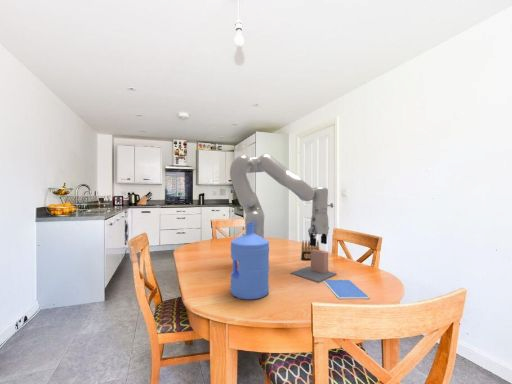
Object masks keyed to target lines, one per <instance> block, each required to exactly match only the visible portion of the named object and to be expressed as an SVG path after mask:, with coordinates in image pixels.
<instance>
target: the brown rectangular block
mask: <svg viewBox="0 0 512 384" xmlns="http://www.w3.org/2000/svg"><path fill="white" fill-rule="evenodd" d="M310 251H311V261H310V266H311V270H313V271H317V272H320V273H324V274H325V273H327V272H328V271H329V252H328V251H324V250H320V249H319V250H315V249H314V250H311V249H310Z"/></svg>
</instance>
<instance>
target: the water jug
mask: <svg viewBox="0 0 512 384" xmlns="http://www.w3.org/2000/svg"><path fill="white" fill-rule="evenodd" d="M246 225H247V227H246V232H245V233H244V234H242V235H240V236H238V237H236V238H234V239H232V240H231V242H230V259H231V260H232V272H231V274H230V289H229V290H230V294H231V295H232V296H234V297H235V298H238V299H240V300H257V299H262V298H264V297H265V296H267V295H268V294H269V291H270V289H269V287H270V285H269V276H270V275H269V273H270V265H269V263H270V261H269V259H270V255H269V253H270V245H269V240H268V239H266V238H265V237H264V238H262V237H260V236H258V235H256V234H255V233H254V223H246ZM238 266H239V269H238Z"/></svg>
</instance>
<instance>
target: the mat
mask: <svg viewBox="0 0 512 384" xmlns="http://www.w3.org/2000/svg"><path fill="white" fill-rule="evenodd" d="M290 274H291V275H293V276H297V277H300V278H303V279H306V280H309V281H312V282H315V283H321V282H323V281H324V280H329V279H331V278H332V277H335V276H337V273H336V272H333V271H329V270H328V272H327V273H325V274H324V273H320V272H317V271H313V270H311V265H308V266H306V267H303V268H301V269H296V270H294V271H292V272H290Z"/></svg>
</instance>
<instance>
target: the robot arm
mask: <svg viewBox="0 0 512 384" xmlns="http://www.w3.org/2000/svg"><path fill="white" fill-rule="evenodd" d="M249 173H250V174H253V173H255V174H256V173H266V174H267V175H268V176H270V178H272V179H273V180H274V181H276V182H277V183H278V184H279V185H281V186H283V187H286V189H288V190H289V191H291V192H292V193H293V194H294V195H296V196H297V197H298V199H299V200H301V201H303V202H310V201H312V204H311V206H312V207H311V219H310V227H309V228H308V230H307V231H308V232H307V233H308V236H309V241H310V247H311V246H313V247H315V246H316V247H317V238H316V237H317V236H318V235H320V244H324V245H327V241H328V236H329V235H328V233H329V229H330V227H329V215H328V203H329V201H328V200H329V197H328V196H329V189H328V188H327V187H323V186H316V187H315V186H314V187H312V186H311V185H310V184H308V183H307V182H306V181H304V179H302V178H300V177H299V176H298V175H296V174H295V173H294V172H293V171H291V170H290V169H289V168H287V167H286V166H284V164H282V163H281V162H280V161H278V160H277V159H276V158H275V157H273V156H272V155H270V154H269V153H263V154H261V155H260V156H257V157H255V156H254V157H249V156H248V155H244V154H241V155H238V156H237V157H236V158H235V159H234V160H233V161H232V163H231V165H230V168H229V176H230V181H231V184H232V187H233V188H234V192H235V195H236V197H237V201H238V203H239V205H240V206H241V207H242V208H243V210H244V212H245V213H244V214H245V219H244V224H245V225H244V226H245V227H244V229H245V233H246V227H247V225H246V223H254V233H255V234H256V235H258V236H260V237H262V238H264V239H265V236H264V235H265V231H264V230H265V213H264V210H263V208H262V205H261V204H260V201H259V198H258V196H257V194H256V192H255V191H253V188H252V187H251V184H250V181H249V178H248V176H247V174H249ZM237 270H239V265H237Z"/></svg>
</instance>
